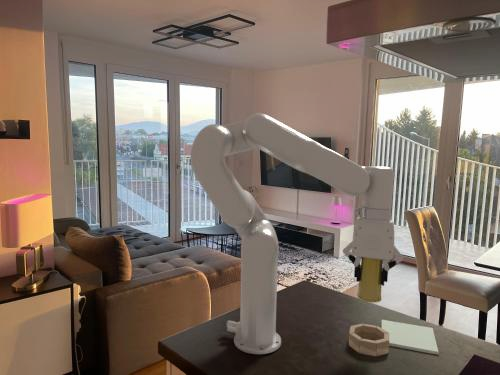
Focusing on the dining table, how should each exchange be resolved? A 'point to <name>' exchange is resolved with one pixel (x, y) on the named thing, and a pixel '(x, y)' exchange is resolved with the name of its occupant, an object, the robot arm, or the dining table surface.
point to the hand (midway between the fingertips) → (370, 281)
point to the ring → (367, 345)
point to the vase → (370, 280)
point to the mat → (411, 336)
